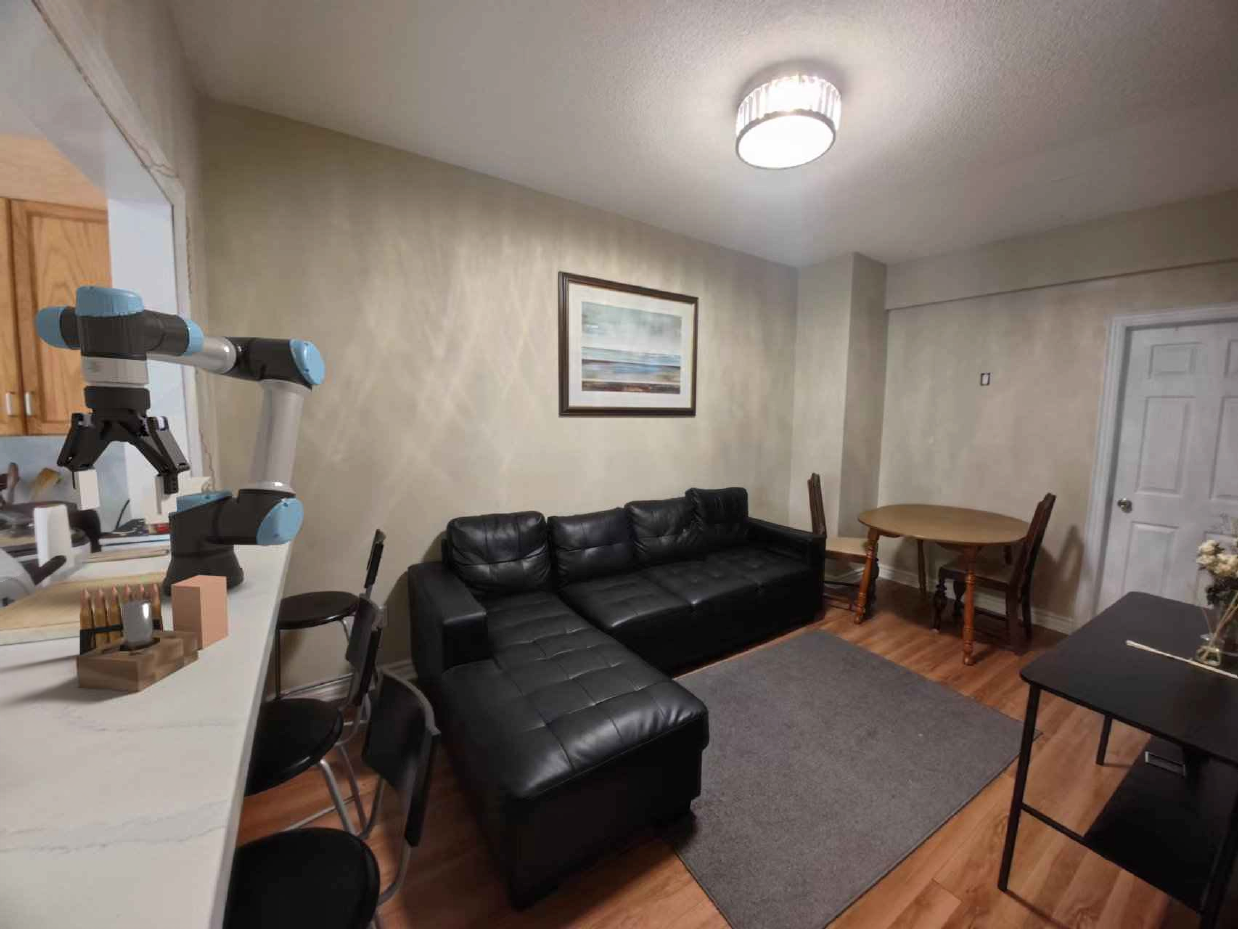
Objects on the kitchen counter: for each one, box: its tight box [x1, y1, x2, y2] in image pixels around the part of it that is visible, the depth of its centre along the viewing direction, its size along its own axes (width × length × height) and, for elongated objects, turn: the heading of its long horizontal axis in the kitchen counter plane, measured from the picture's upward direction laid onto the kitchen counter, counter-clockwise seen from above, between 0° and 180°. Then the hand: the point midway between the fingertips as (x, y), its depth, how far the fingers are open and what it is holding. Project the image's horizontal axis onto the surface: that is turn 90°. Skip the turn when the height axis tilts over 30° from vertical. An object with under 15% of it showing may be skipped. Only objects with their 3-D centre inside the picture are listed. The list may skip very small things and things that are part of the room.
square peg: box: [170, 575, 229, 650], centre depth 89 cm, size 6×6×12 cm
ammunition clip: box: [79, 581, 165, 656], centre depth 85 cm, size 11×2×12 cm, turn 121°
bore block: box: [75, 629, 199, 693], centre depth 79 cm, size 10×10×5 cm
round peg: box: [121, 599, 154, 652], centre depth 78 cm, size 3×3×12 cm
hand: (128, 510), depth 81 cm, fingers open, 13 cm apart
